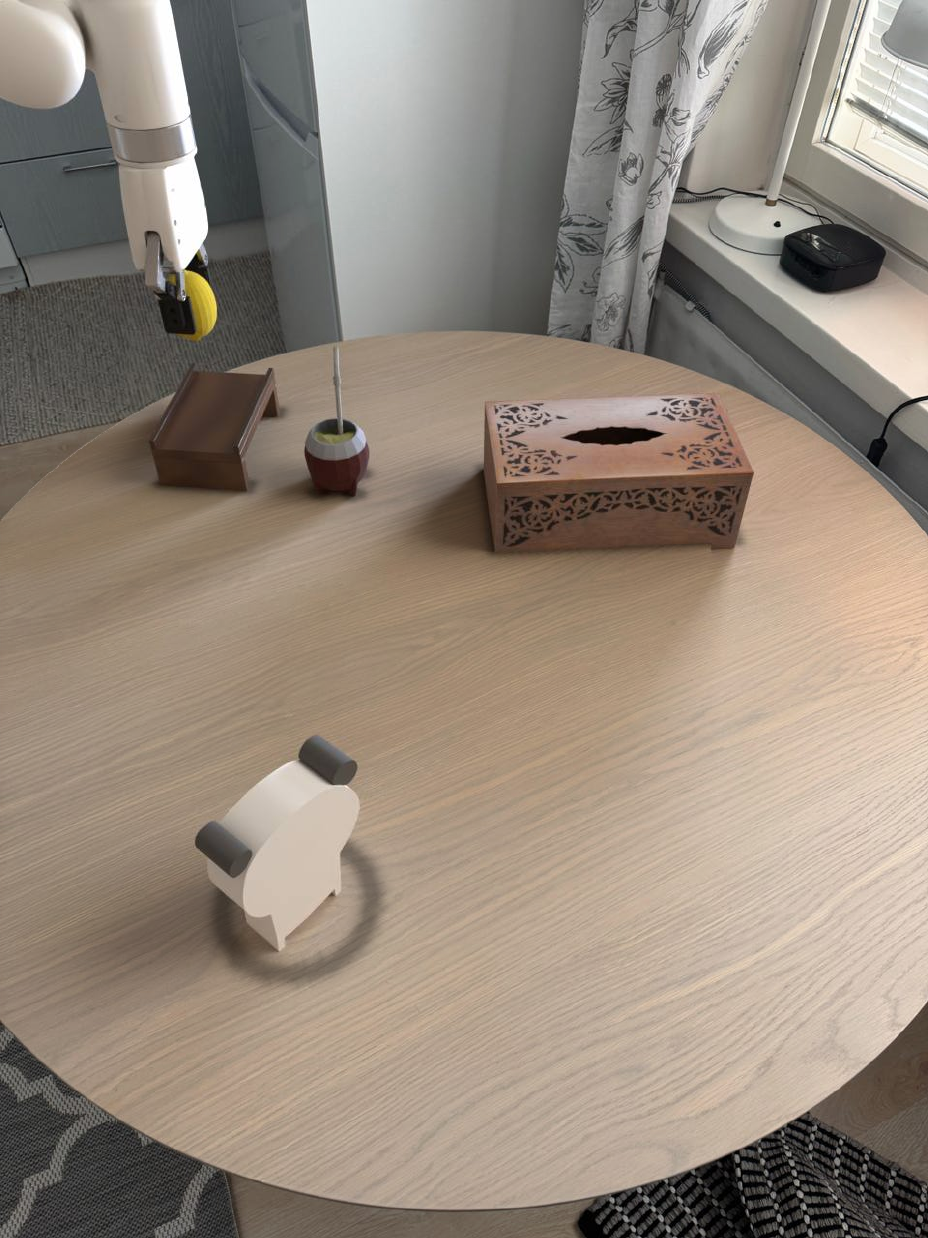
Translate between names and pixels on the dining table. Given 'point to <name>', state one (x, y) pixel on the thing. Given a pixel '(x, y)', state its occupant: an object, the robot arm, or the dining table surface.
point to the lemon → (199, 303)
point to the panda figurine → (285, 840)
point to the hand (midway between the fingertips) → (190, 315)
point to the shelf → (212, 428)
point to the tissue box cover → (613, 472)
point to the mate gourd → (336, 449)
